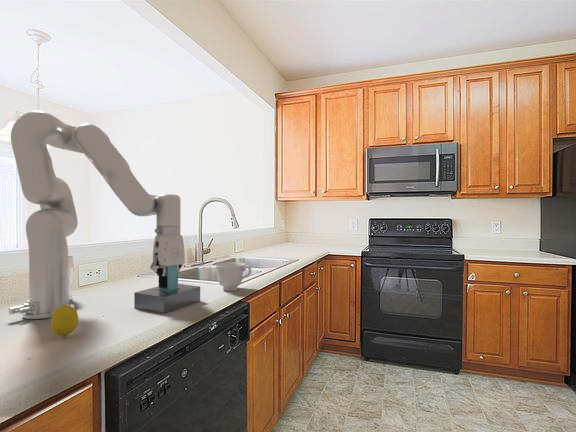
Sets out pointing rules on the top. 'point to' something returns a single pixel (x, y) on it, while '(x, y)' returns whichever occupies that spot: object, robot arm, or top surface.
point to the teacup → (231, 274)
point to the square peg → (170, 279)
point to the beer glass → (70, 275)
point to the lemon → (64, 320)
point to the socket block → (166, 298)
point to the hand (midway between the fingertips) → (168, 285)
